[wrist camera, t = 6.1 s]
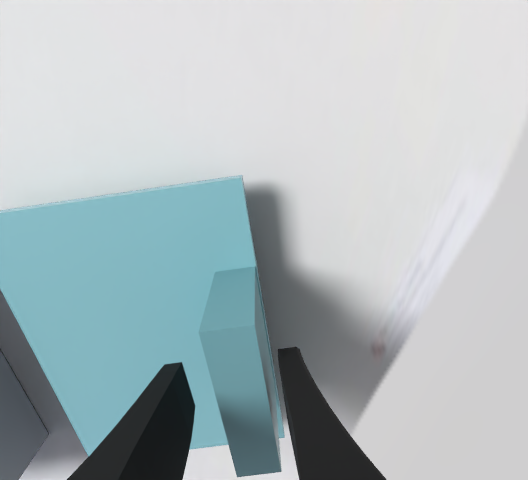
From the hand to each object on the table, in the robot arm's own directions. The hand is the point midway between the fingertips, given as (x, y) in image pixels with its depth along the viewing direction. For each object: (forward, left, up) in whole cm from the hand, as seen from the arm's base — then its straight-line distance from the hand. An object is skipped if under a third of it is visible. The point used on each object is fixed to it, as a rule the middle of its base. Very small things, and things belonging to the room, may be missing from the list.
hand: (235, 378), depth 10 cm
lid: (0, +4, -4) cm, 5 cm away
